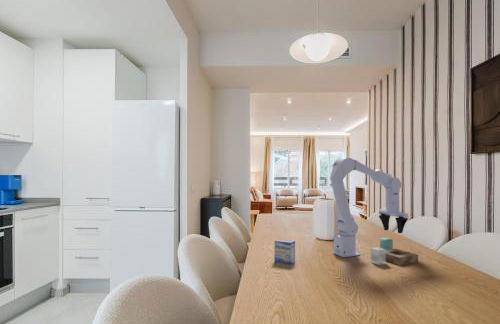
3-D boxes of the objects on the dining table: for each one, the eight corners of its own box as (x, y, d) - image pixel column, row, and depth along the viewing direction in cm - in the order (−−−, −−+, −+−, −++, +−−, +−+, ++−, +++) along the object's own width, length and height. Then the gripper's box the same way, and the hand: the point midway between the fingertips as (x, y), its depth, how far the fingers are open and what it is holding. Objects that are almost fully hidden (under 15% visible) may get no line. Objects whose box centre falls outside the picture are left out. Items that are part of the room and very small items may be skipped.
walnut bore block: (399, 265, 119) (399, 257, 119) (377, 258, 129) (377, 251, 129) (418, 261, 123) (418, 254, 124) (395, 255, 134) (395, 248, 134)
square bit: (378, 265, 119) (378, 250, 120) (371, 262, 123) (370, 248, 123) (386, 264, 121) (385, 249, 121) (378, 261, 125) (378, 247, 125)
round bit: (387, 253, 136) (386, 240, 137) (377, 250, 142) (377, 238, 142) (395, 252, 139) (395, 239, 139) (385, 249, 144) (385, 237, 144)
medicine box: (274, 261, 125) (274, 240, 125) (278, 258, 128) (278, 238, 129) (291, 264, 121) (291, 242, 121) (295, 261, 125) (295, 240, 125)
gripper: (412, 203, 135) (413, 233, 134) (385, 200, 148) (386, 228, 147) (401, 204, 132) (402, 234, 131) (375, 201, 145) (375, 229, 144)
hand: (393, 231), depth 139 cm, fingers open, 7 cm apart
